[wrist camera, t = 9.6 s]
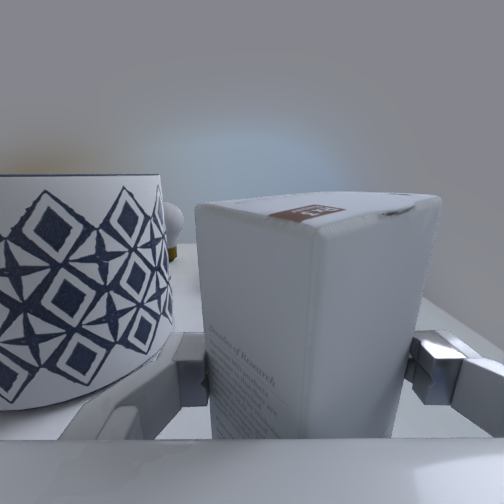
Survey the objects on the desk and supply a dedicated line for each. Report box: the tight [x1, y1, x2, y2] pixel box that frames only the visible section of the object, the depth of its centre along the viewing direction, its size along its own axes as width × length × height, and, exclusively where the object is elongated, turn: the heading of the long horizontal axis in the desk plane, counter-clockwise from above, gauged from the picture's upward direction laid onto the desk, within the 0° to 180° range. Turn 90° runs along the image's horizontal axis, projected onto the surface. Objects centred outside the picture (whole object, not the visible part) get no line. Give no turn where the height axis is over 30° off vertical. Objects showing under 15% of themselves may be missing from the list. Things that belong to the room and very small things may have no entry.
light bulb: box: [163, 202, 184, 262], centre depth 43 cm, size 6×6×10 cm
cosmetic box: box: [195, 191, 442, 439], centre depth 9 cm, size 6×4×12 cm
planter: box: [0, 174, 175, 410], centre depth 22 cm, size 16×16×14 cm
